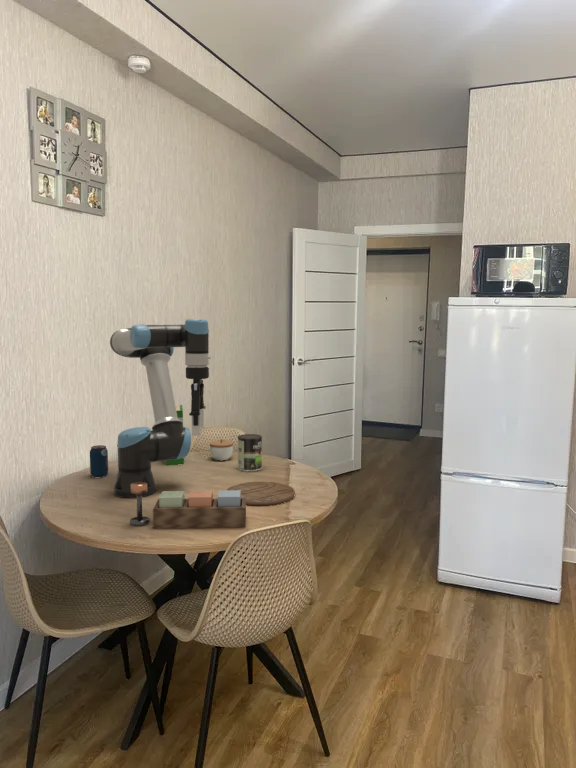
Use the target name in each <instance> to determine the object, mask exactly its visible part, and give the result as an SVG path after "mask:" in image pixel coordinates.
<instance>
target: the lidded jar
mask: <svg viewBox="0 0 576 768" xmlns="http://www.w3.org/2000/svg"><path fill="white" fill-rule="evenodd" d="M233 450H234V442H233V441H231V440H227V439H226V440H224V439H223V438H220V439H219V440H213V441H210V442H209V452H210V454H211V457H212V458H213V459H214V460H215V461H217V460H220V461H219V462H223V460H226V461H228V460H229V459H230V458H231V457H232V455H233V452H234V451H233Z"/></svg>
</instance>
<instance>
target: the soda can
mask: <svg viewBox="0 0 576 768" xmlns="http://www.w3.org/2000/svg"><path fill="white" fill-rule="evenodd" d="M108 453H109V452H108V448H107V446H106V445H92V446H90V450H89V471H90V472H89V473H90V475H91V477H92V476H93V477H92V478H95V477H100V478H104V477H103V476H105V477H107V476H108V474H109V454H108ZM106 475H107V476H106Z"/></svg>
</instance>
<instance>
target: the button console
mask: <svg viewBox="0 0 576 768" xmlns="http://www.w3.org/2000/svg"><path fill="white" fill-rule="evenodd" d="M152 520H153V521H152V522H153V523H152V525H153V527H152V528H153V529H191V528H202V529H203V528H246V525H247V506H246V498H241V504H240V507H218V497H214V498H213V504H212V507H189V498H185V503H184V506H183V507H181V508H159V498H158V499H157V501H156V503H155V504H154V506H153V509H152Z"/></svg>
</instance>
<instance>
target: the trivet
mask: <svg viewBox="0 0 576 768" xmlns="http://www.w3.org/2000/svg"><path fill="white" fill-rule="evenodd" d="M226 490H241V498H246V505H247V506H246V507H270V505H272V506H277V504H279V505H282V504H281V503H283V504H285V503H284V502H286V503H288V502H287V501H289V500H291V499H292V498H293V497H294V495H295V496H296V491H295V489H294V487H292V486H290V485H288V484H286V483H285V484H284V483H281V482H275V481H250V482H249V481H248V482H243V483H236V484H234V485H232V486H229V487H228V488H227V489H226ZM294 498H295V497H294ZM292 500H293V499H292ZM292 500H291V501H292ZM289 502H290V501H289Z"/></svg>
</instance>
